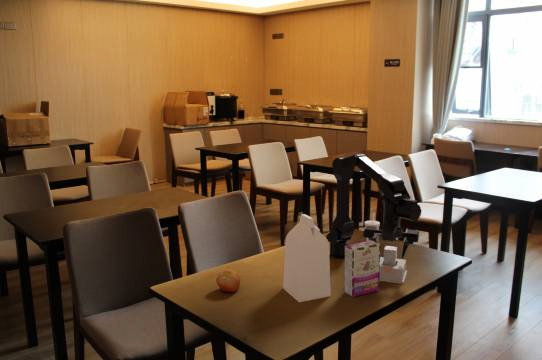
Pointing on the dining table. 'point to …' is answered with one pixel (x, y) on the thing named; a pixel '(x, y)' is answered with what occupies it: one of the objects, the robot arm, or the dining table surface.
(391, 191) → the robot arm
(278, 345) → the dining table surface
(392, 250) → the column
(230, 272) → the fruit
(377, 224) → the smoothie
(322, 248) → the milk
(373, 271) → the candy bar box
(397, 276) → the stand base
